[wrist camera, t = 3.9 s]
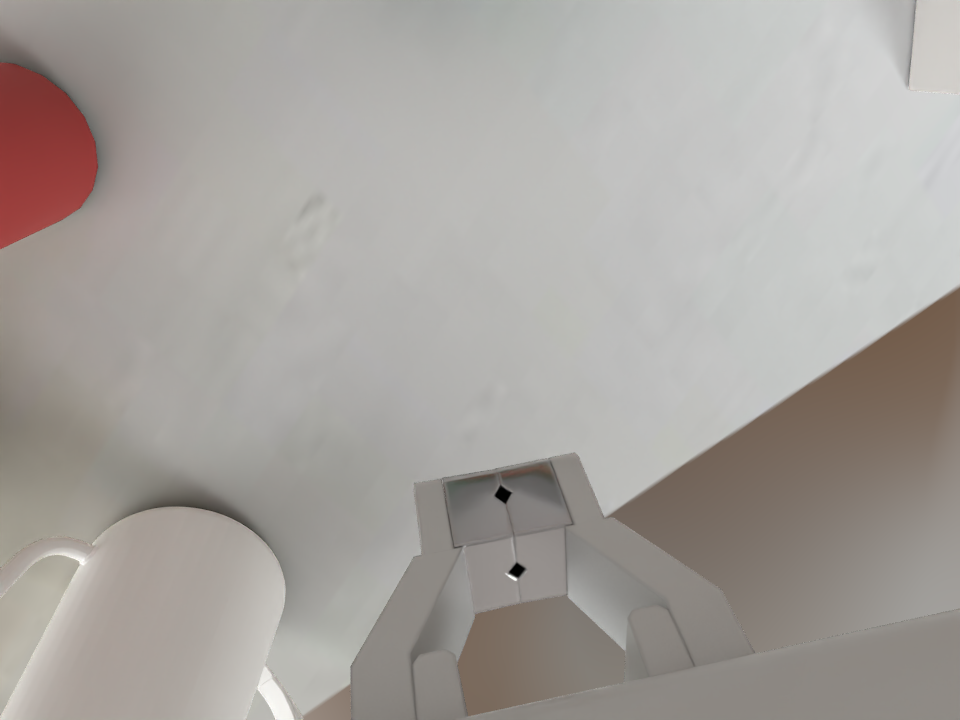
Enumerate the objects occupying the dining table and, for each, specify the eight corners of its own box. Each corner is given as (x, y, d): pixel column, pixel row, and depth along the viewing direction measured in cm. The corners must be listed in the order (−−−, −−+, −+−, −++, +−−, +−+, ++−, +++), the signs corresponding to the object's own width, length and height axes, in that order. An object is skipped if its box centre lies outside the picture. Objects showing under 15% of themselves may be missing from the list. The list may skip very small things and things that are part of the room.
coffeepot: (52, 363, 33) (-328, 690, 16) (405, 638, 42) (400, 1034, 25) (-82, 494, 36) (-542, 903, 18) (281, 729, 45) (198, 1149, 28)
